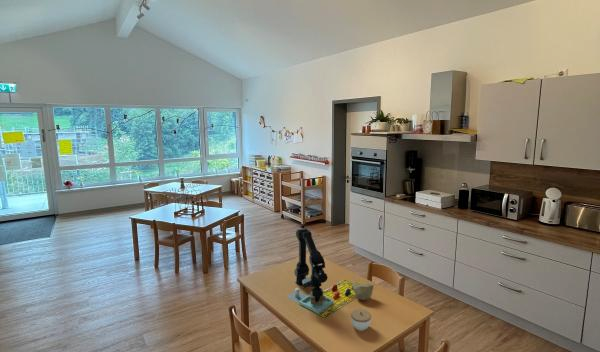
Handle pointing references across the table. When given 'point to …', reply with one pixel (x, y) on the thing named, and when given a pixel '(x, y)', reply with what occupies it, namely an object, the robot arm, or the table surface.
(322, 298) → the walnut square frame
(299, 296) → the grey square knobbed piece
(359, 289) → the grey bowl
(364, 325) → the lidded jar
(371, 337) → the table surface
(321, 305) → the tray
